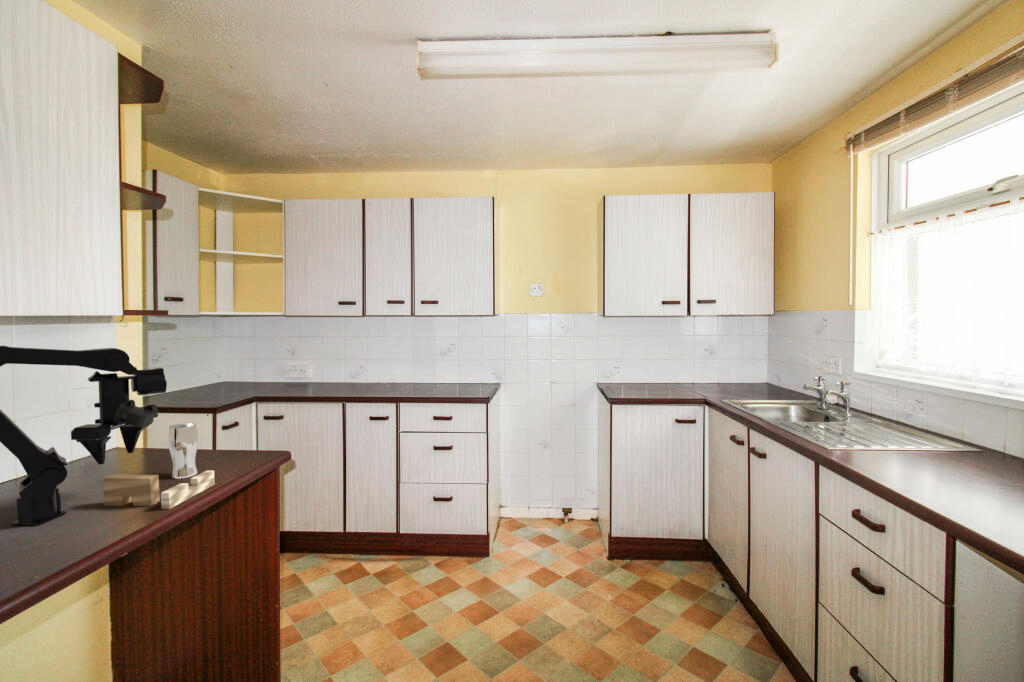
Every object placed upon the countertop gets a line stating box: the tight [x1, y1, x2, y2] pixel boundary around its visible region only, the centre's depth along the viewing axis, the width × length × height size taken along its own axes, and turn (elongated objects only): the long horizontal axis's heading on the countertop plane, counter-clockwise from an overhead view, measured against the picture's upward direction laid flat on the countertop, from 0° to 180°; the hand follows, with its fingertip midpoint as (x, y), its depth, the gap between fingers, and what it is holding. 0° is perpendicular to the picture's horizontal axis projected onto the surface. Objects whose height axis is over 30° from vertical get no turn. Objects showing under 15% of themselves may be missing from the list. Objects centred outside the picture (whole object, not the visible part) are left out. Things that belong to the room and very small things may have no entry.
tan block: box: [102, 474, 161, 507], centre depth 112 cm, size 2×12×7 cm, turn 89°
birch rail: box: [160, 469, 216, 510], centre depth 117 cm, size 16×2×4 cm, turn 179°
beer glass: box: [167, 422, 199, 480], centre depth 132 cm, size 7×7×15 cm
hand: (116, 458), depth 113 cm, fingers open, 9 cm apart
